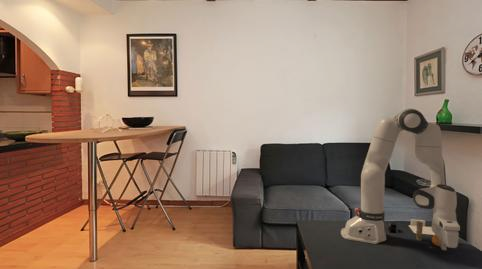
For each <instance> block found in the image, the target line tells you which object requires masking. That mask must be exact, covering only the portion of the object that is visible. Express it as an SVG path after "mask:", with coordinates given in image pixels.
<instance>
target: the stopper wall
mask: <svg viewBox="0 0 482 269" xmlns="http://www.w3.org/2000/svg"><path fill="white" fill-rule="evenodd" d="M417 222H422V223H423V226H426V221H425V220H424V219H413V218H411V219H410V225H414V226H417Z"/></svg>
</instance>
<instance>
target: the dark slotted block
mask: <svg viewBox="0 0 482 269" xmlns="http://www.w3.org/2000/svg"><path fill="white" fill-rule="evenodd" d="M385 228H386V229H387V231H388V233H389V234H399V231H398V230H397V224H396V223H395V222H391V221H389V222H388V227H385Z"/></svg>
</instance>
